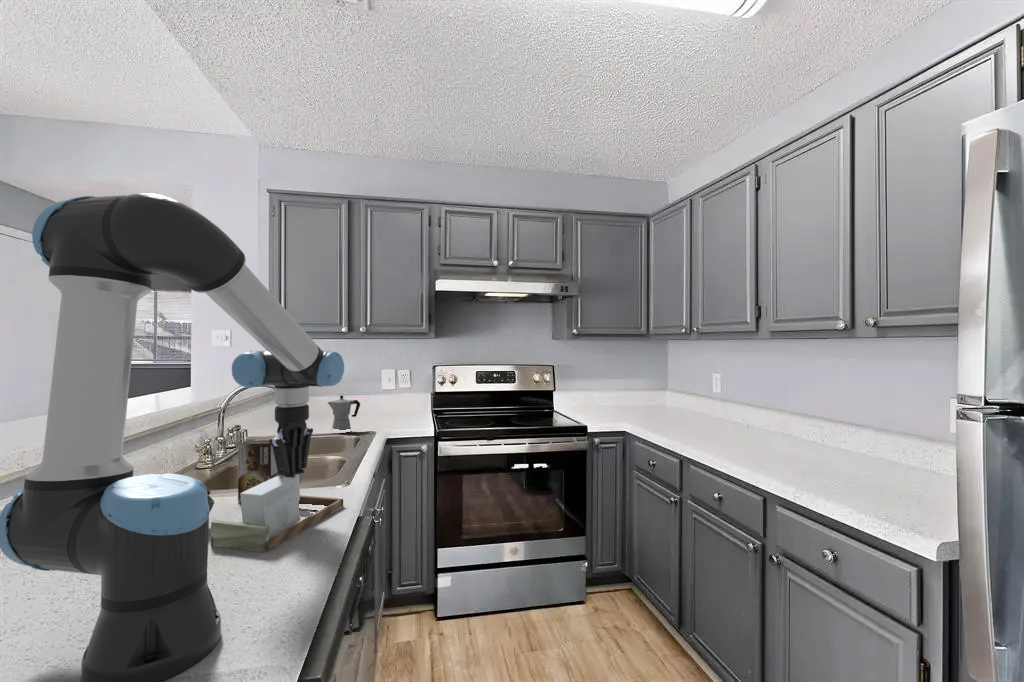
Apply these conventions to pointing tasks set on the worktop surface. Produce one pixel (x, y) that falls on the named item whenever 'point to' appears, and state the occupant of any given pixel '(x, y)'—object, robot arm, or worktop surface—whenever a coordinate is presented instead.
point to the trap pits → (306, 513)
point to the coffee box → (255, 464)
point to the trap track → (267, 528)
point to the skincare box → (272, 504)
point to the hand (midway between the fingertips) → (293, 500)
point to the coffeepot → (342, 412)
